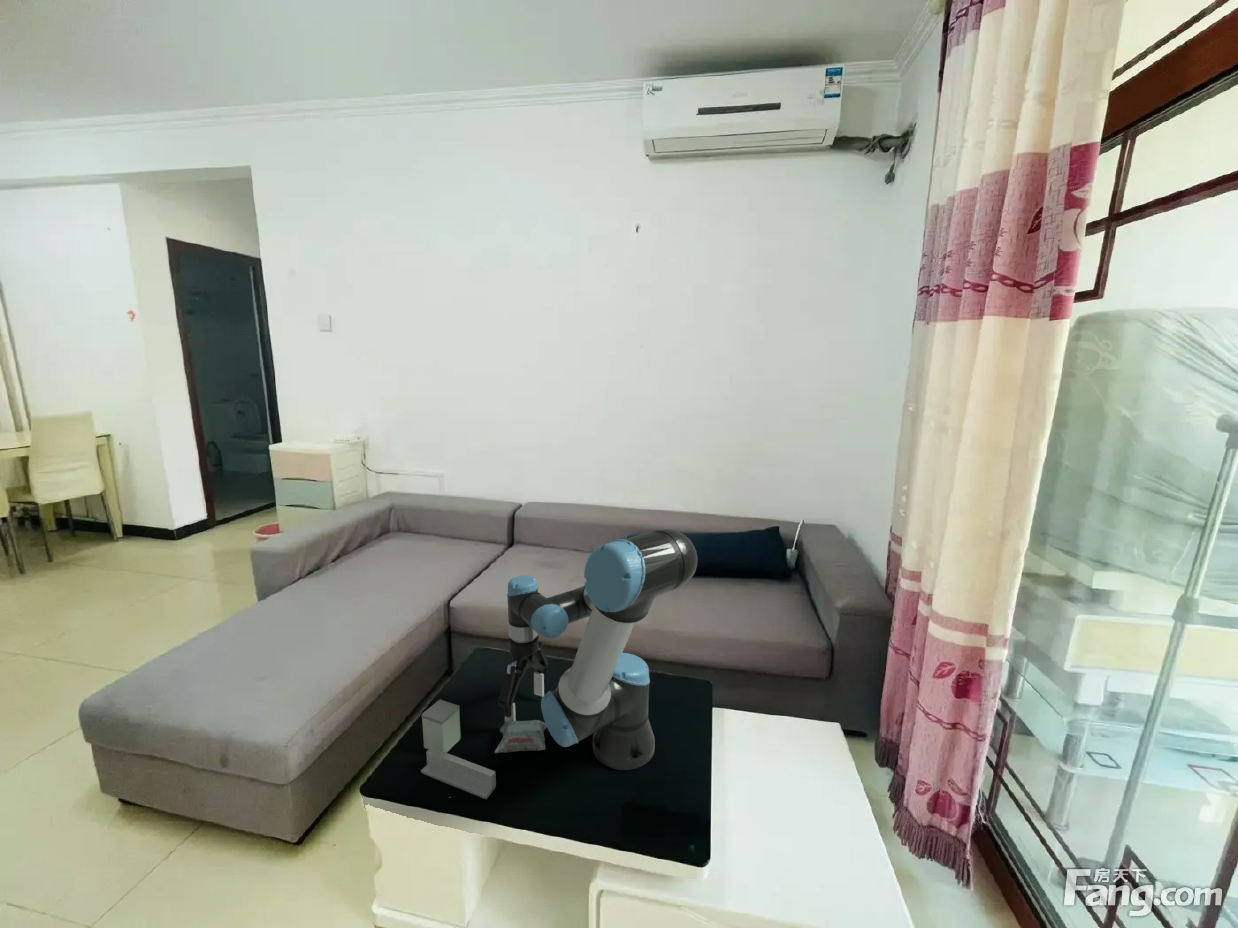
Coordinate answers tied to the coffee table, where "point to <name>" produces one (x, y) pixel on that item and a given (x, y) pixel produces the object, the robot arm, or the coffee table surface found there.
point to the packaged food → (522, 736)
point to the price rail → (460, 773)
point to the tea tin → (441, 726)
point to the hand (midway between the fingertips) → (525, 709)
